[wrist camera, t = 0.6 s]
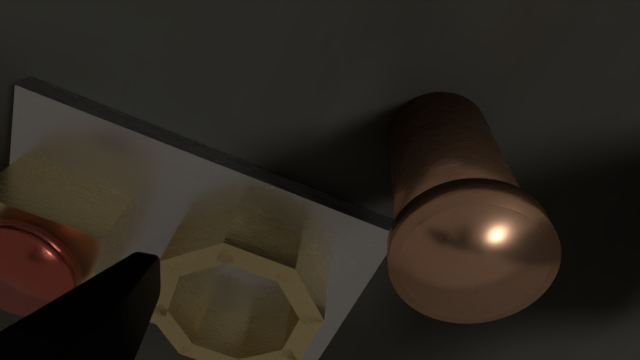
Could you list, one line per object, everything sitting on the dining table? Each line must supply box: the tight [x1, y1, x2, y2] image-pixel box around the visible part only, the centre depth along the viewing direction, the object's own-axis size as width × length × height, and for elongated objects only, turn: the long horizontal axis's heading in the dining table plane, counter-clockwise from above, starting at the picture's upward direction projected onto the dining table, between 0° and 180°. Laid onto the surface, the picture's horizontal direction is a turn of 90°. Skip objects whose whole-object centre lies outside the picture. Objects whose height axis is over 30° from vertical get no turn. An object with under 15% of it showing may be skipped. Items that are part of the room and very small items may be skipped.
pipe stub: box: [387, 92, 561, 324], centre depth 17 cm, size 5×5×8 cm
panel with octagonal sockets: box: [0, 77, 394, 360], centre depth 22 cm, size 17×11×5 cm, turn 67°
